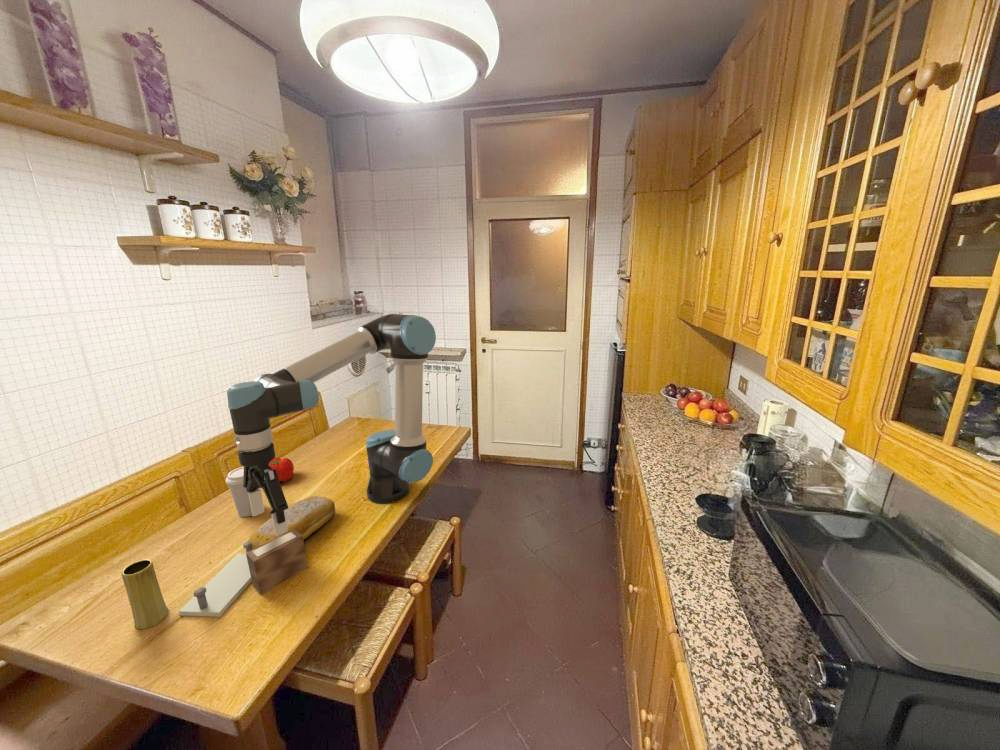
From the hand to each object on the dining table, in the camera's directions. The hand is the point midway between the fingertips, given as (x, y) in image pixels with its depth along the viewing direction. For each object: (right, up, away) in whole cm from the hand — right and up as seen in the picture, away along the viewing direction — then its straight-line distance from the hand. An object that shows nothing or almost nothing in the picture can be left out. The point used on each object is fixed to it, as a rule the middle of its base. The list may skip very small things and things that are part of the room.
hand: (269, 523), depth 102 cm
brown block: (+1, -16, +4) cm, 16 cm away
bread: (-4, -12, +21) cm, 24 cm away
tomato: (-28, -4, +55) cm, 62 cm away
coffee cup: (-27, -9, +34) cm, 44 cm away
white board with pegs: (-12, -17, +2) cm, 20 cm away
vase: (-23, -20, -8) cm, 31 cm away
